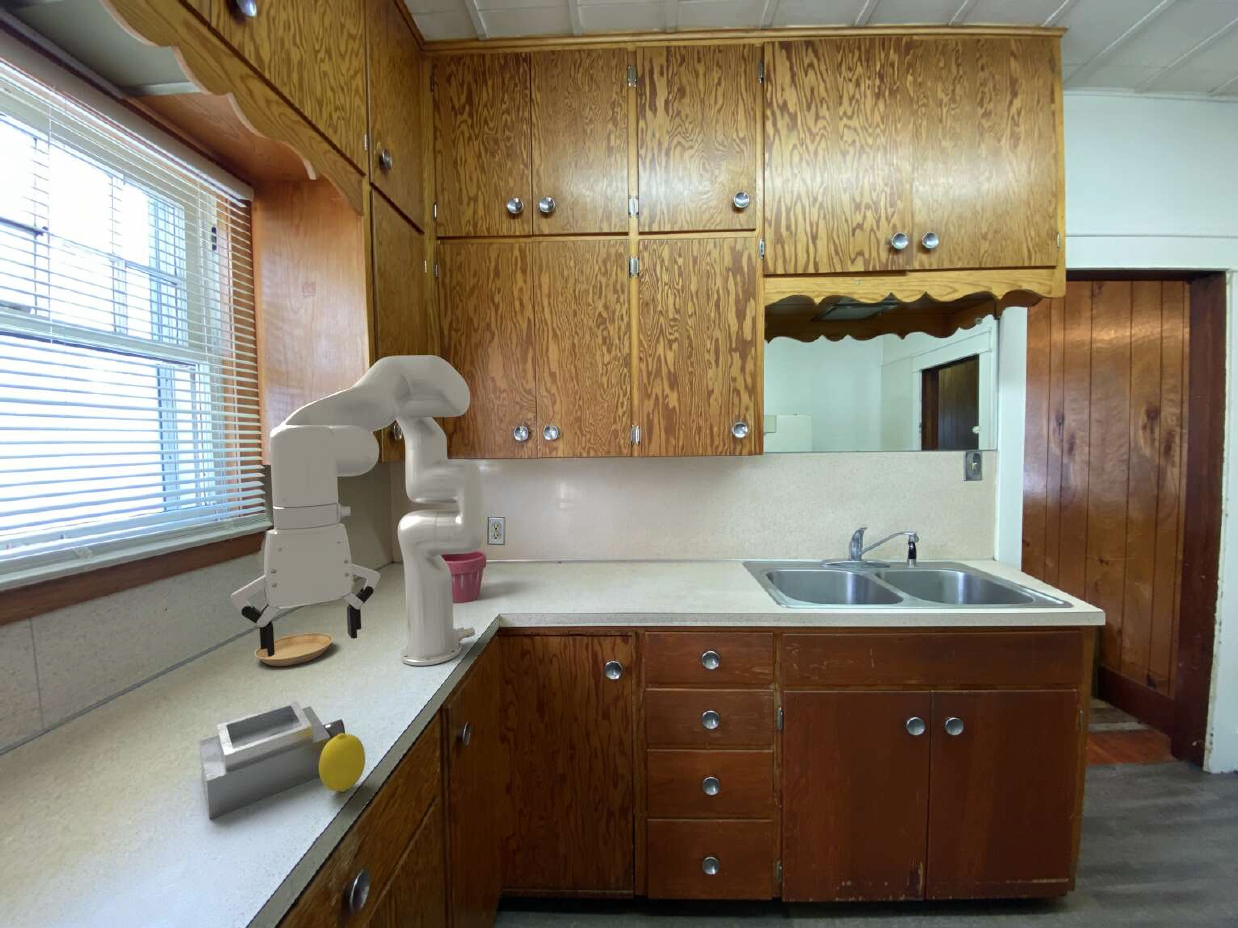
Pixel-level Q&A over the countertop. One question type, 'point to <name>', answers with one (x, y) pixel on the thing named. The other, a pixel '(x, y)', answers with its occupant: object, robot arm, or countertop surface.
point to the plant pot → (466, 575)
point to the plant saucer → (296, 649)
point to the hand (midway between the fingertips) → (313, 644)
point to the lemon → (342, 762)
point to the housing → (262, 755)
